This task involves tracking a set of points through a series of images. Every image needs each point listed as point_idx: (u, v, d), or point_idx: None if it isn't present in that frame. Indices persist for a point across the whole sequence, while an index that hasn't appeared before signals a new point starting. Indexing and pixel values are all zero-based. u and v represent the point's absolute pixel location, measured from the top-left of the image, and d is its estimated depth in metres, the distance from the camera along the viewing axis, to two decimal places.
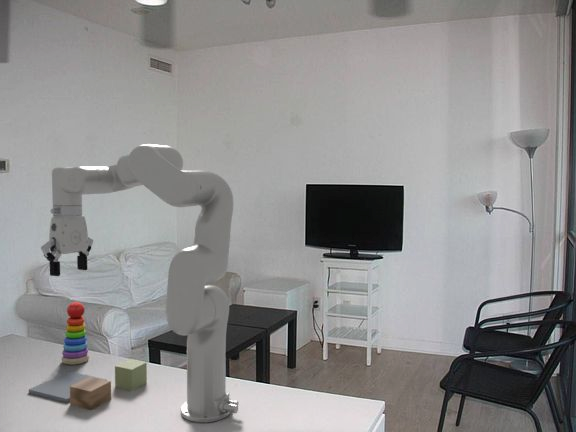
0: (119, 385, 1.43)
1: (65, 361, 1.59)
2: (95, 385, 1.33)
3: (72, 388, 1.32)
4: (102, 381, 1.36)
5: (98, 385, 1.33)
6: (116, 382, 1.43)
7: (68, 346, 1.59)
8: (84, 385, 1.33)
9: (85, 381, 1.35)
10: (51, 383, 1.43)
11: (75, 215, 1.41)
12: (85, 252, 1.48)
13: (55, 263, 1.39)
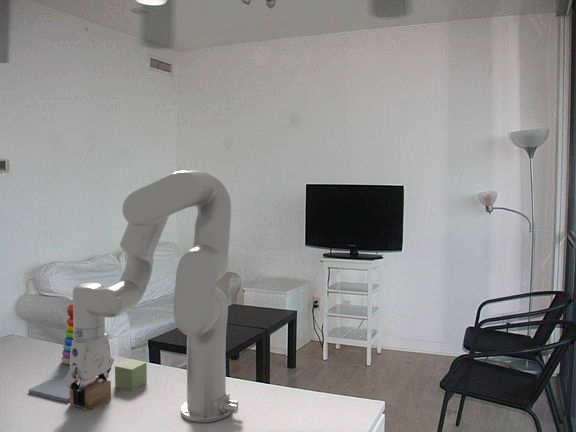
0: (119, 385, 1.43)
1: (65, 361, 1.59)
2: (94, 385, 1.33)
3: None
4: (102, 380, 1.35)
5: (97, 384, 1.33)
6: (116, 382, 1.43)
7: (68, 346, 1.59)
8: (84, 385, 1.33)
9: None
10: (51, 383, 1.43)
11: (98, 337, 1.31)
12: (105, 374, 1.37)
13: (79, 392, 1.30)
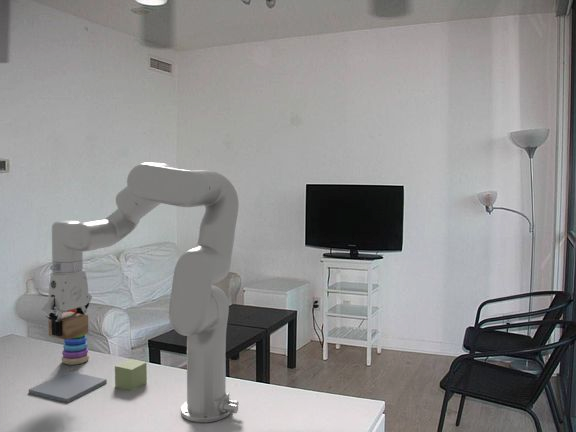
0: (119, 385, 1.43)
1: (65, 361, 1.59)
2: (72, 317, 1.39)
3: None
4: (79, 314, 1.42)
5: (75, 317, 1.39)
6: (116, 382, 1.43)
7: (68, 346, 1.59)
8: (62, 317, 1.39)
9: (64, 314, 1.42)
10: (51, 383, 1.43)
11: (75, 271, 1.37)
12: (83, 309, 1.43)
13: (57, 323, 1.36)
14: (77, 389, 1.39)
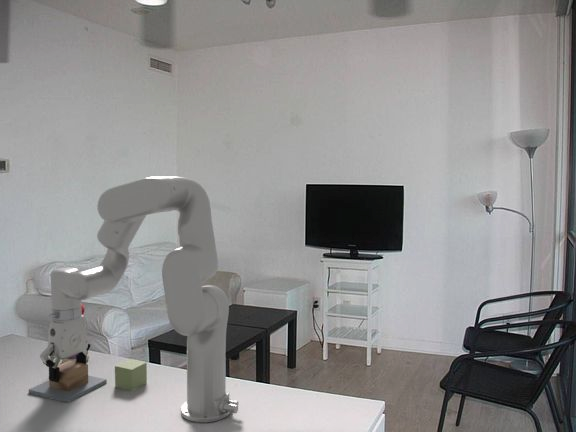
0: (119, 385, 1.43)
1: (65, 361, 1.59)
2: (72, 368, 1.41)
3: None
4: (79, 364, 1.44)
5: (75, 367, 1.41)
6: (116, 382, 1.43)
7: None
8: (62, 368, 1.41)
9: (64, 364, 1.44)
10: None
11: (74, 318, 1.39)
12: (84, 352, 1.46)
13: (54, 369, 1.37)
14: (77, 389, 1.39)
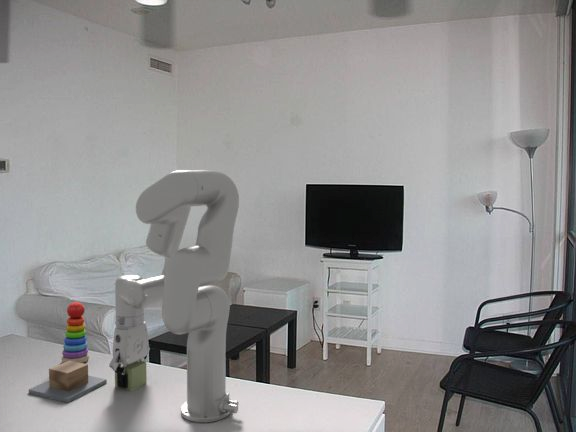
0: None
1: (65, 361, 1.59)
2: (72, 368, 1.41)
3: (51, 370, 1.40)
4: (79, 364, 1.44)
5: (75, 367, 1.41)
6: (116, 382, 1.44)
7: (68, 346, 1.59)
8: (62, 368, 1.41)
9: (64, 364, 1.44)
10: None
11: (138, 325, 1.42)
12: None
13: (123, 376, 1.41)
14: (77, 389, 1.39)
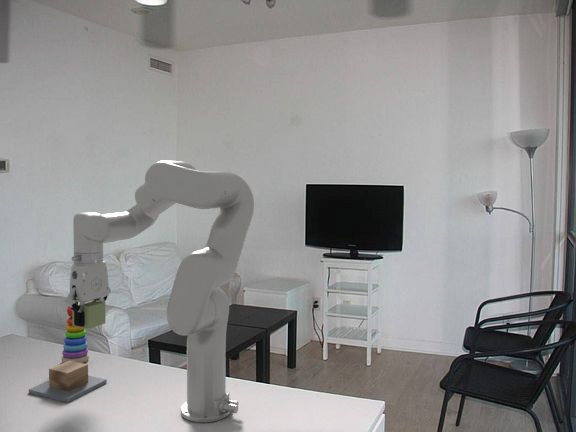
0: None
1: (65, 361, 1.59)
2: (72, 368, 1.41)
3: (51, 370, 1.40)
4: (79, 364, 1.44)
5: (75, 367, 1.41)
6: (73, 320, 1.41)
7: (68, 346, 1.59)
8: (62, 368, 1.41)
9: (64, 364, 1.44)
10: None
11: (96, 262, 1.39)
12: (102, 301, 1.45)
13: (80, 313, 1.38)
14: (77, 389, 1.39)
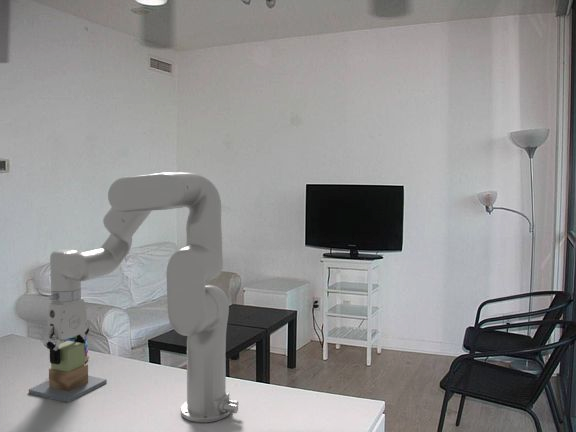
0: (55, 366, 1.40)
1: None
2: None
3: (51, 370, 1.40)
4: None
5: None
6: None
7: None
8: None
9: None
10: None
11: (74, 300, 1.38)
12: (83, 335, 1.45)
13: (55, 351, 1.37)
14: (77, 389, 1.39)
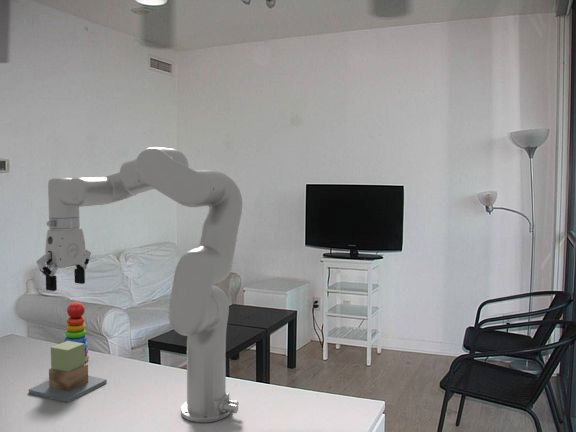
0: (55, 366, 1.40)
1: None
2: None
3: (51, 370, 1.40)
4: None
5: None
6: (52, 363, 1.40)
7: None
8: None
9: None
10: None
11: (72, 228, 1.37)
12: (82, 265, 1.44)
13: (51, 277, 1.35)
14: (77, 389, 1.39)
